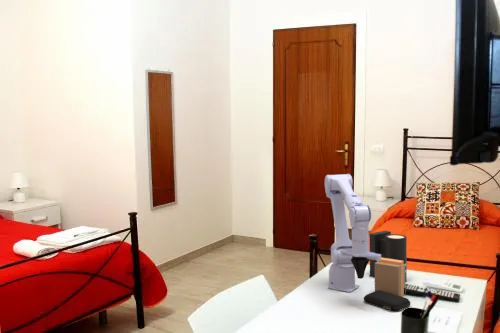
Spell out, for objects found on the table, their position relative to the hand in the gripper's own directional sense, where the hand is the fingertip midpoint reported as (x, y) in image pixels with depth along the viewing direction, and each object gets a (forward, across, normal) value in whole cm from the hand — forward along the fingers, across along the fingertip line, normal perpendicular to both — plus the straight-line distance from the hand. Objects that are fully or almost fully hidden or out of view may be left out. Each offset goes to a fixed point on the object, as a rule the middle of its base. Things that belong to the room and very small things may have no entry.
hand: (360, 277), depth 181 cm
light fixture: (+10, -2, +32) cm, 33 cm away
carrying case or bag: (+10, +7, +4) cm, 13 cm away
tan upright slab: (+9, +5, +15) cm, 18 cm away
